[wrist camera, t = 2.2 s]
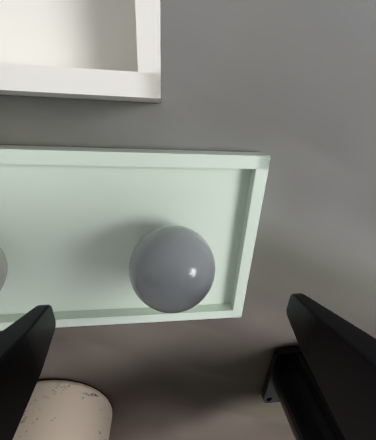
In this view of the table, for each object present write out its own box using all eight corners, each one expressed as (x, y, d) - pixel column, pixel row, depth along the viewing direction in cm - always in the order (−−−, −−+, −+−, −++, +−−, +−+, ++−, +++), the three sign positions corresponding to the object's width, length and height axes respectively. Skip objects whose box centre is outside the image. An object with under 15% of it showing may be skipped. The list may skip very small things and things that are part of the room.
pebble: (204, 274, 14) (219, 331, 10) (135, 276, 13) (126, 337, 10) (209, 211, 12) (230, 253, 8) (131, 212, 12) (118, 256, 8)
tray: (235, 303, 16) (241, 317, 15) (-58, 317, 14) (-77, 334, 13) (260, 152, 12) (270, 156, 11) (-154, 140, 10) (-194, 143, 8)
